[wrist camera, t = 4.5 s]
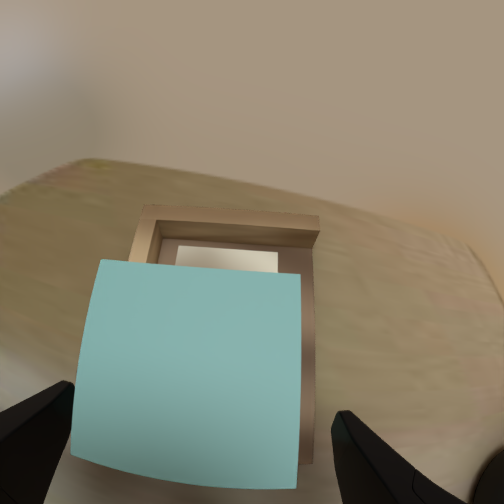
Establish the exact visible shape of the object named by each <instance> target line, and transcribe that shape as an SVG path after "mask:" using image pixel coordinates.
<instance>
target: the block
mask: <svg viewBox="0 0 504 504" xmlns="http://www.w3.org/2000/svg"><path fill="white" fill-rule="evenodd" d="M300 398H301V277H300V274H288V273H273V272H257V271H242V270H228V269H214V268H201V267H188V266H175V265H163V264H151V263H139V262H127V261H116V260H105V259H101V261H100V265H99V269H98V272H97V276H96V280H95V284H94V288H93V292H92V296H91V300H90V305H89V309H88V314H87V318H86V323H85V328H84V333H83V339H82V344H81V350H80V356H79V363H78V370H77V377H76V385H75V393H74V403H73V415H72V429H71V455H73V456H76V457H79V458H82V459H84V460H87V461H90V462H94V463H97V464H100V465H103V466H106V467H110V468H113V469H117V470H121V471H125V472H128V473H133V474H137V475H141V476H146V477H150V478H155V479H160V480H166V481H172V482H178V483H185V484H192V485H200V486H209V487H221V488H236V489H295V488H296V484H297V468H298V451H299V429H300Z"/></svg>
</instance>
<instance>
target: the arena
mask: <svg viewBox="0 0 504 504" xmlns="http://www.w3.org/2000/svg"><path fill="white" fill-rule="evenodd" d="M319 232H320V225H319V216H314V215H303V214H292V213H280V212H267V211H254V210H240V209H225V208H208V207H189V206H168V205H144V206H143V209H142V213H141V216H140V219H139V223H138V226H137V230H136V233H135V237H134V241H133V244H132V248H131V252H130V256H129V260H128V262H139V263H151V264H163V265H175V266H188V267H201V268H214V269H228V270H242V271H257V272H273V273H288V274H300V277H301V398H300V429H299V451H298V464H312V462H313V443H314V416H315V311H314V282H313V261H312V247H313V245H314V243H315V241H316V238H317V236H318V234H319Z"/></svg>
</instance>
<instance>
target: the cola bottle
mask: <svg viewBox="0 0 504 504" xmlns="http://www.w3.org/2000/svg"><path fill="white" fill-rule="evenodd" d="M474 504H504V450H503V451H502V452H501V453H499V454H498V455H497V456H496V457H495V458H494V459H493V461H492V462H491V463H490V464H489V466H488V467H487V469H486V470H485V472H484V474H483V476H482V477H481V479H480V482H479V484H478V487H477V489H476V493H475V497H474Z"/></svg>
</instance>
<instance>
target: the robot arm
mask: <svg viewBox="0 0 504 504" xmlns="http://www.w3.org/2000/svg"><path fill="white" fill-rule="evenodd" d="M74 393H75V386H74V384H73V383H71V382H68V381H64V380H63V381H60V382H58V383H56V384H55V385H53V386H51V387H49V388H47V389H45V390H43V391H41V392H39V393H37V394H35V395H33V396H31V397H30V398H28V399H26V400H24V401H22V402H20V403H18V404H16V405H14V406H12V407H10V408H8V409H6V410H4V411H2V412H0V504H43V503H44V500H45V497H46V494H47V492H48V489H49V486H50V483H51V481H52V478H53V476H54V473H55V470H56V468H57V465H58V463H59V460H60V458H61V455H62V453H63V450H64V448H65V446H66V443H67V441H68V438H69V435H70V432H71V429H72V415H73V403H74ZM331 436H332V445H333V455H334V465H335V471H336V476H337V480H338V485H339V489H340V493H341V498H342V502H343V504H467V503H465V502H464V501H462V500H460V499H459V498H457V497H455V496H454V495H452V494H450V493H449V492H447V491H445V490H444V489H442V488H441V487H439V486H438V485H436V484H435V483H433V482H432V481H431V480H429V479H428V478H427V477H426V476H424V475H423V474H422V473H421V472H419V471H418V470H417V469H415V467H413V466H412V465H411V464H410V463H409V462H408V461H406V460H405V459H404V458H403V457H402V456H401V455H399V454H398V453H397V452H396V451H395V450H394V449H392V448H391V447H390V446H389V445H388V444H387V443H386V442H385V441H383V440H382V439H381V438H380V437H379V436H378V435H377V434H376V433H374V432H373V431H372V430H371V429H370V428H369V427H368V426H367V425H366V424H364V423H363V422H362V421H361V420H360V419H359V418H358V417H357V416H356V415H355V414H353V413H352V412H351V411H350V410H344V411H338V412H337V414H336V416H335V419H334V421H333V424H332V427H331Z"/></svg>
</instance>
